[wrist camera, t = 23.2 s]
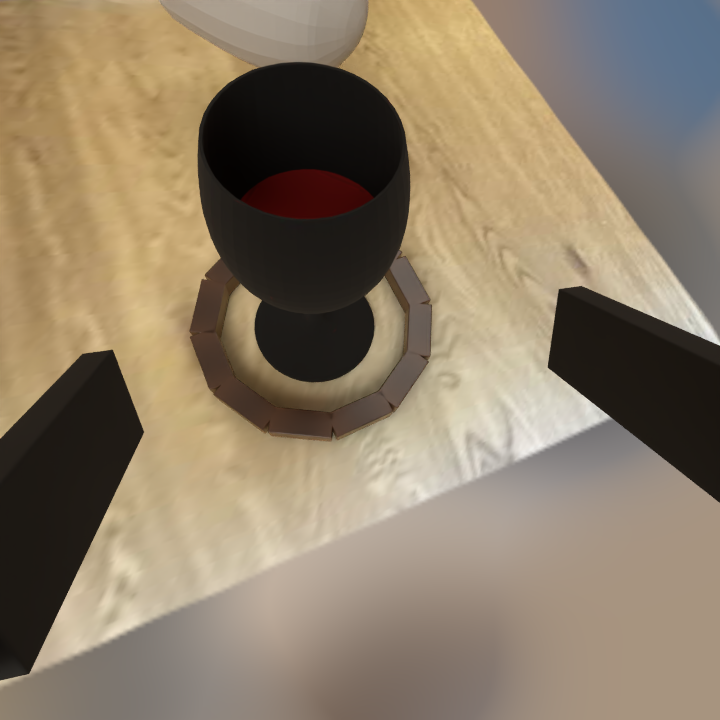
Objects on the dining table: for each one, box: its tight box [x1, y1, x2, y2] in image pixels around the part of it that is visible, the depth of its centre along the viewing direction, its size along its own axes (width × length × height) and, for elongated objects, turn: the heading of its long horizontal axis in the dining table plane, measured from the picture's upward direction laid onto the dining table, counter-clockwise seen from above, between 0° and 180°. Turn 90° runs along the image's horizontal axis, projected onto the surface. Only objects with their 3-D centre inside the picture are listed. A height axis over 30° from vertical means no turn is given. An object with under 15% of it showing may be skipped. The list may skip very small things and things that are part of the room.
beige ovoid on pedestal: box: [159, 0, 368, 68], centre depth 36 cm, size 15×20×18 cm
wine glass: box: [198, 62, 410, 382], centre depth 27 cm, size 10×10×20 cm
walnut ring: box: [190, 250, 432, 441], centre depth 36 cm, size 20×20×2 cm
